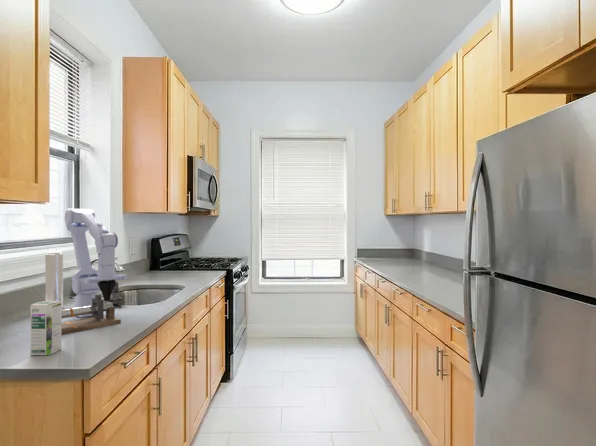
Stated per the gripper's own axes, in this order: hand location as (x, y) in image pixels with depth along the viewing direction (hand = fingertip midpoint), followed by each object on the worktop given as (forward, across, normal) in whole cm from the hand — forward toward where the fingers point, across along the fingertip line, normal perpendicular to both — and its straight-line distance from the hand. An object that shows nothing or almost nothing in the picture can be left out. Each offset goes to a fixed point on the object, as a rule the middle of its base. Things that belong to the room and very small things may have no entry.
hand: (106, 300), depth 145 cm
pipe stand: (+8, -8, 0) cm, 11 cm away
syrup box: (+8, -25, -23) cm, 35 cm away
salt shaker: (+8, +13, +25) cm, 29 cm away
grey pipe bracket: (+6, -3, 0) cm, 7 cm away
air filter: (+8, -7, +39) cm, 40 cm away
